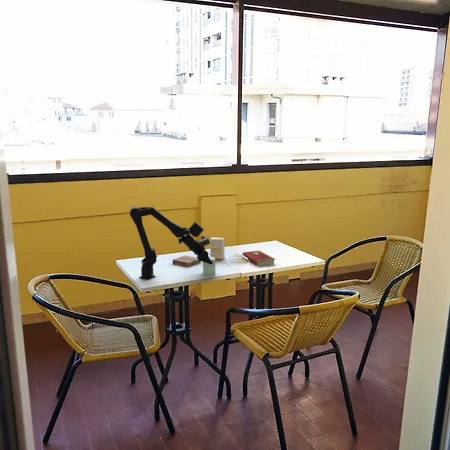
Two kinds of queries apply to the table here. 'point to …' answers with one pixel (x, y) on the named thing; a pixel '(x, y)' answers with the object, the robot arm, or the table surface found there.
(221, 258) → the supplement box
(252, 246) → the table surface
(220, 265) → the table surface
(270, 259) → the hardcover book
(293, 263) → the table surface
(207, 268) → the sage block
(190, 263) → the walnut block
